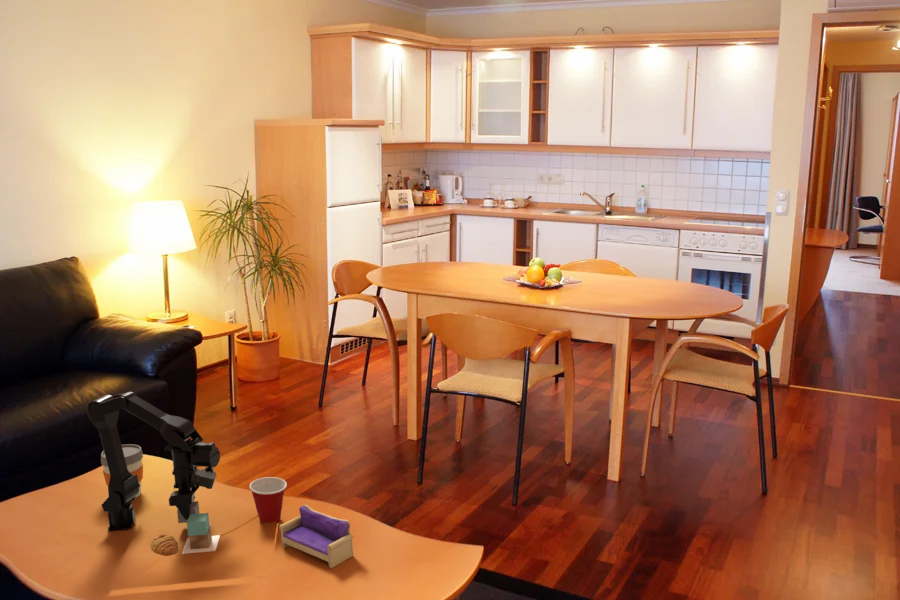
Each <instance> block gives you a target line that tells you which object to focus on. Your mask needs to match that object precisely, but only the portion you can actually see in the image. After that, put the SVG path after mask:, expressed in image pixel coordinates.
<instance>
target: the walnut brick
mask: <svg viewBox="0 0 900 600" xmlns="http://www.w3.org/2000/svg"><path fill="white" fill-rule="evenodd" d="M211 528H212V527H211V525H210V527H209V530H208V533H207V535H195V536H188V538H189V539H190V549H201V548H209V547H210V543H211V540H212V536H213V535H212V529H211Z"/></svg>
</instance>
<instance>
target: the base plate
mask: <svg viewBox="0 0 900 600" xmlns="http://www.w3.org/2000/svg"><path fill="white" fill-rule="evenodd" d="M211 536H212V540H211V543H210V547H209V548H201V549H190V539H189V537H187V539H186V541H185V542H184V543H185V544H184V546H183V549H182V551H181V554H182V555H184V554H185V555H186V554H194V553H206V552H216V550H217V549H218V544H219V540H220V537H221V535H219V534H218V535H217V534H216V535H211Z"/></svg>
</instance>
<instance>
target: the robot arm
mask: <svg viewBox="0 0 900 600" xmlns="http://www.w3.org/2000/svg"><path fill="white" fill-rule="evenodd" d="M121 410H125V411H127V412H128V413H130V414H131V415H133V416H135V417H137V418H138V419H140V420H141V421H144V422H145V423H146V424H149V425H150V426H152V427H153V428H155V429H157V430H158V431H159V433H160V434H161V437H162V438H164V440H166V441H167V442H168V445H166V446H165V447H164V451H171V457H172V466H173V467H172V468H173V470H172V472H171V474H172V476H174V483H173V489H174V491H172V493H171V494H170V495H169V498H168V506H170V507H176V508H177V509H178V510H179V511H180V513H181V514H182V516H183V517H184V519H185V520H186V519H188V518H189V515H190V504H192V503H193V502H195V498H196V496H195V495H196V494H195V493H196V492H197V490H199V488H200V487H202V488H206V489H207V490H211V489H212V488H213V487H214V484H215V481H216V477H217V473H216V471H215V470H214V468H216V467H217V466H218V464H219V463H220V460H221V451H220V450H219V448H218V446H216V443H215V442H203V441H204V438H203V437H202V436H201V434H199V432H198V431H197V429H196V428H195V427H194V423H193V422H192V421H191V420H189V419H187V418H184V417H181V416H177V415H170V414H168V413H167V412H164V411H163V410H162V409H159V408H157V407H156V406H154V405H153V404H151V403H150V402H147V401H146V400H144V399H143V398H140V397H139V396H137V395H136V393H134V392H133V391H127V392H125V393H119V394H116V395H110V394H104V395H102V396H100V397H98V398H95V399H94V400H91V401H90V402H89V403H88V405H87V406H86V413H87V416H88V418H89V419H90V423H91V424H92V425H93V426H94V427H96V429H98V433H99V436H100V440H101V444H102V449H103V451H104V453H105V457H106V461H107V465H108V468H109V472H110V480H109V484H108V486H107V493H108V497H107V498H106V499H105V500H104V502H103V503H101V508H102V510H103V511H104V512H107V515H108V517H107V518H108V524H109V525H108V527H107V531H119V530H120V531H121V530H130V529H131V528H132V527H133V525H134V524H135V521H136V512H135V507H133V502H134V501H136V498H137V497H136V495H137V494H138V492H139V487H140V484H139V482H138V476H137V475H136V474H135V475H132V474H131V473H130V472H129V471H128V469H127V465H126V461H125V457H124V453H123V449H122V445H123V444H122V442H121V438H120V433H119V429H118V419H119V415H120V411H121ZM189 439H190V440H189ZM188 440H189V441H188ZM187 441H188V442H187ZM198 467H205V468H201V469H200V468H199V469H198ZM175 489H177V490H175ZM135 497H136V498H135Z"/></svg>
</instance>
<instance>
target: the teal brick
mask: <svg viewBox="0 0 900 600" xmlns="http://www.w3.org/2000/svg"><path fill="white" fill-rule="evenodd" d="M210 526H211V525H210V516H209V512H203V513H200V514H190V516H189V518H188V521H187V522H186V527H187V536H188V537H189V536H195V535H207V533H208V530H209V527H210Z"/></svg>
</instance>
